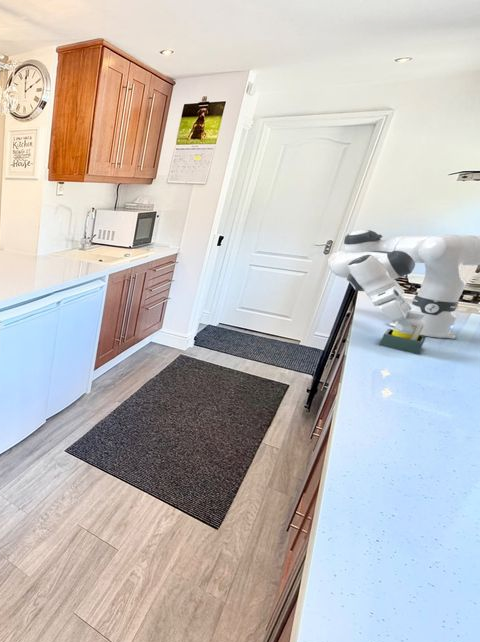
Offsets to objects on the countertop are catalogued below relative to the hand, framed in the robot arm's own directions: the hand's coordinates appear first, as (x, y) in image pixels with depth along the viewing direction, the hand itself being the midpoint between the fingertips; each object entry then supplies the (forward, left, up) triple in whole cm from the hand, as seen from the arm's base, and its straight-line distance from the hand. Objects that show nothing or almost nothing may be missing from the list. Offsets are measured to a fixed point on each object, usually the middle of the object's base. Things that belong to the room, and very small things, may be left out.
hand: (411, 326), depth 145 cm
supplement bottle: (0, -1, -8) cm, 8 cm away
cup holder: (0, -1, -8) cm, 8 cm away
